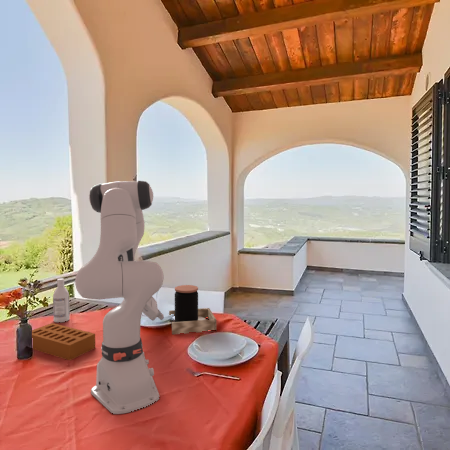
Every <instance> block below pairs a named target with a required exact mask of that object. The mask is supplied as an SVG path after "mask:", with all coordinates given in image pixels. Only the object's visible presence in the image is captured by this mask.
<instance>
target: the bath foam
mask: <svg viewBox="0 0 450 450" xmlns="http://www.w3.org/2000/svg"><path fill="white" fill-rule="evenodd" d="M56 281H57V287H56V288H55V290H54V292H53V293H52V294H53V295H52V313H53V316H52V317H53V323H57V324H59V322H60V323H65V321H66V322H68V321H69V320H70V318H71V317H70V316H71V314H70V312H71V311H70V294H69V290H68V289H67V287H65V278H63V277H61V278H57V280H56Z"/></svg>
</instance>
